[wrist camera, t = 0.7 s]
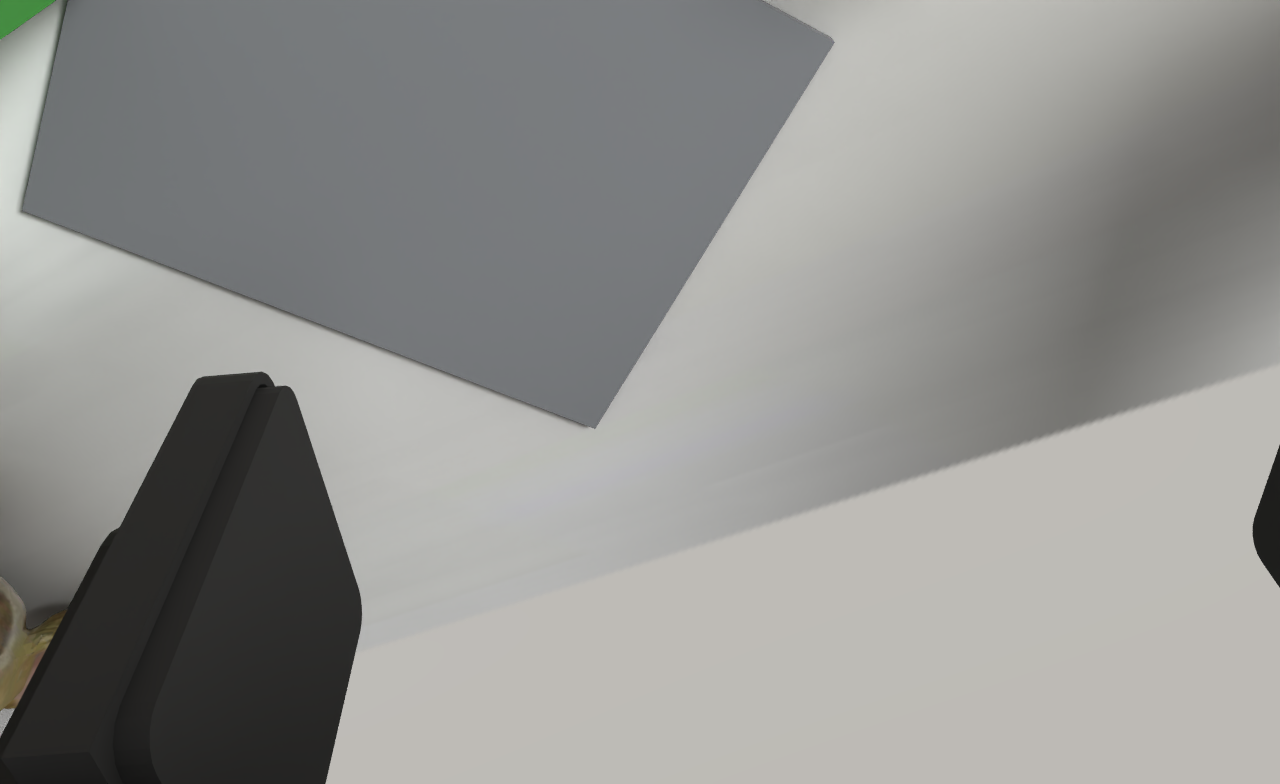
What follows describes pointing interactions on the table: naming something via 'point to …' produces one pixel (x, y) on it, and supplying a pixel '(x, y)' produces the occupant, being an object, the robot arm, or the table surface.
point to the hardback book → (18, 13)
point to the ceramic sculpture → (20, 645)
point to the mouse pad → (426, 163)
